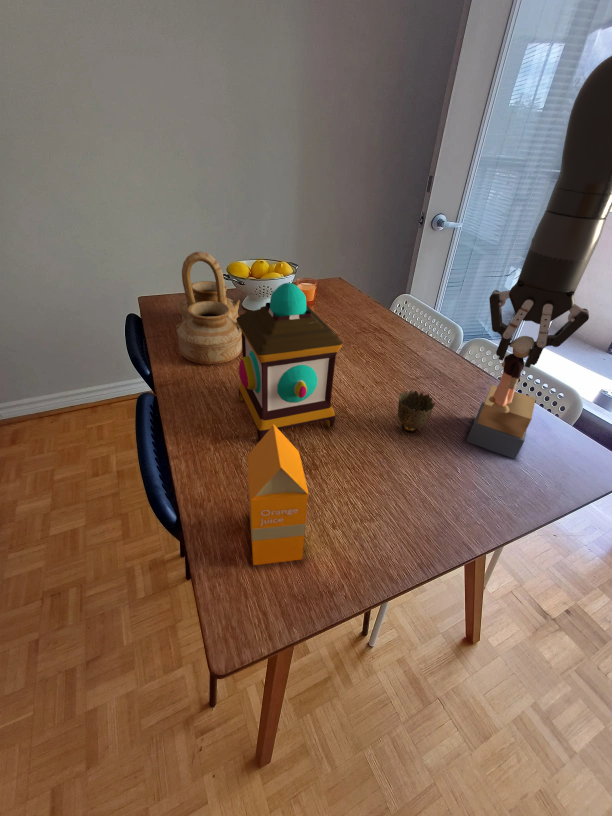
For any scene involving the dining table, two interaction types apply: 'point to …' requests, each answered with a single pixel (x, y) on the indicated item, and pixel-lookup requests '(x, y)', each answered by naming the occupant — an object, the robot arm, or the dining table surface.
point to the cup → (414, 410)
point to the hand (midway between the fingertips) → (514, 361)
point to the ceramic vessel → (208, 317)
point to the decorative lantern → (287, 363)
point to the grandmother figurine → (511, 373)
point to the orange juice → (276, 500)
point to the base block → (495, 439)
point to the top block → (508, 414)
